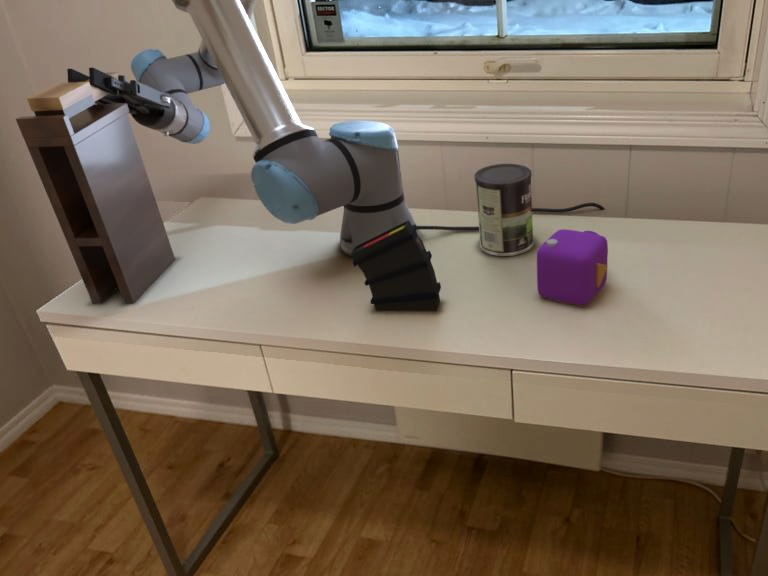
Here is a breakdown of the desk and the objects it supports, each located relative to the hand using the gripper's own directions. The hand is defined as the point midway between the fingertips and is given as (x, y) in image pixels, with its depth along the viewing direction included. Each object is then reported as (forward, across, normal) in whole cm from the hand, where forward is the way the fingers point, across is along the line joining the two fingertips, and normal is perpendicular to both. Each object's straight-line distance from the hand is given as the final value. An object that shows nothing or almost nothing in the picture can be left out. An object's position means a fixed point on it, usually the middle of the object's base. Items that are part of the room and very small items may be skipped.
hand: (80, 76), depth 125 cm
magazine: (-4, -53, -39) cm, 66 cm away
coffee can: (-24, -69, -27) cm, 78 cm away
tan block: (-1, 0, -4) cm, 4 cm away
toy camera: (-9, -82, -36) cm, 90 cm away
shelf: (-14, 0, -33) cm, 36 cm away
